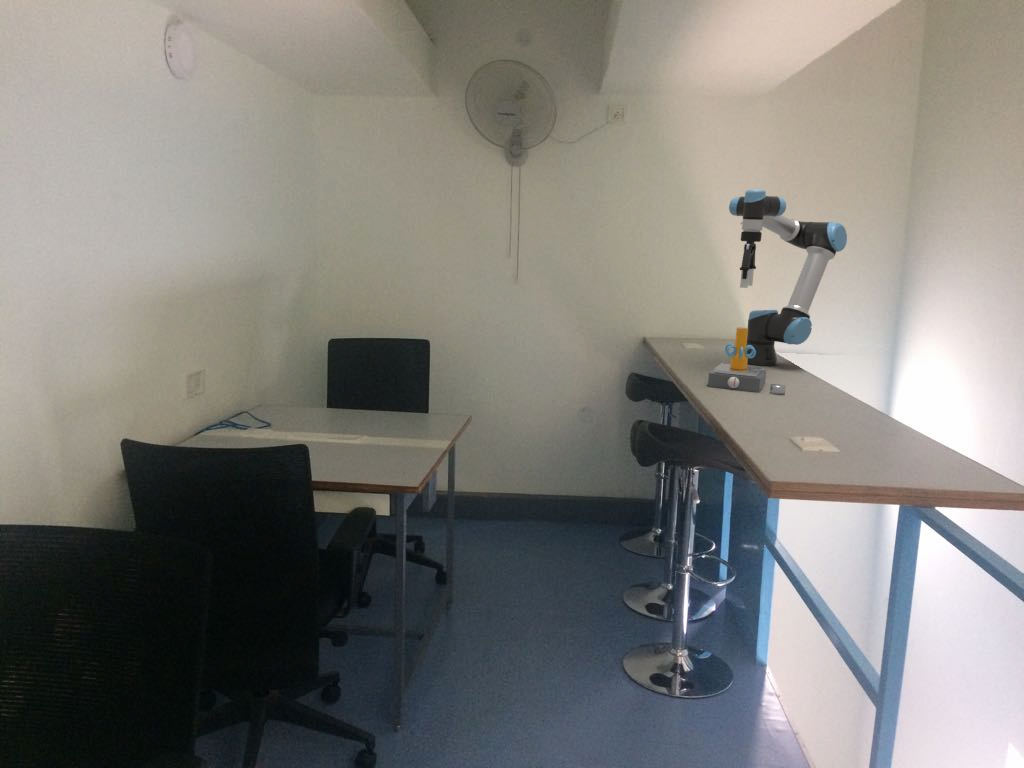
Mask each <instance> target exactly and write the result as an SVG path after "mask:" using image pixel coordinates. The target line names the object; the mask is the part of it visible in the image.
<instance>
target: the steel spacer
mask: <svg viewBox="0 0 1024 768" xmlns="http://www.w3.org/2000/svg"><path fill="white" fill-rule="evenodd" d="M769 387H770V389H769V394H771V395H776V396H785V394H786V389H787V388H786V385H784V384H780V383H772V384H770V386H769Z"/></svg>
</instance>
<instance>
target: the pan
mask: <svg viewBox="0 0 1024 768" xmlns="http://www.w3.org/2000/svg"><path fill="white" fill-rule="evenodd" d="M716 366H717V365H716ZM716 366H715V367H716ZM715 367H714V368H715ZM714 368H713V369H714ZM761 370H763V367H761V366H754V365H753V366H752V365H751V366H750V365H747V369H745V370H737V369H732V368H730V363H721V362H720V364H719V366H717V367H716V368H715V369H714V372H717V373H726V374H735V375H744V376H754V377H757V376H758V374H759V373H760V372H761Z"/></svg>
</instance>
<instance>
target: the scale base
mask: <svg viewBox="0 0 1024 768" xmlns="http://www.w3.org/2000/svg"><path fill="white" fill-rule="evenodd" d="M719 365H720V364H719ZM719 365H716V366H715V367H713V369H712V370H711V371H710V372H708V378H707V387H708V388H718V389H726V390H736V391H743V390H744V391H745V392H751V391H753V392H754V393H761V390H762V389H763V387H764V386H765V384H766V380H767V379H766V377H767V370H764V369H762V370H761V372H760V373H759V374H758V376H757V377H754V376H744V375H735V374H726V373H717V372H714V369H715V368H716V367H717V366H719ZM753 392H752V393H753Z"/></svg>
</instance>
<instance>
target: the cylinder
mask: <svg viewBox="0 0 1024 768" xmlns="http://www.w3.org/2000/svg"><path fill="white" fill-rule="evenodd" d="M735 332H736V333H735V341H734V342H735V343H734V344H733V343H728V344H727V345H725V347H724V352H725V353H726V355H727V357H729V358H730V363H729V364H730V368H732V369H737V370H745V369H747V366H748V364H747V362H748V358H753V357H754V356H755V355H756V351H755V349H754V347H753V346H752V345H748V346H746V344H747V334H748V327H741V326H740V327H736V330H735ZM730 349H733V351H732V352H729V351H730ZM748 349H752V352H751V353H750V354H747V350H748ZM753 353H754V354H753ZM752 354H753V355H752ZM751 355H752V356H751Z"/></svg>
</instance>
